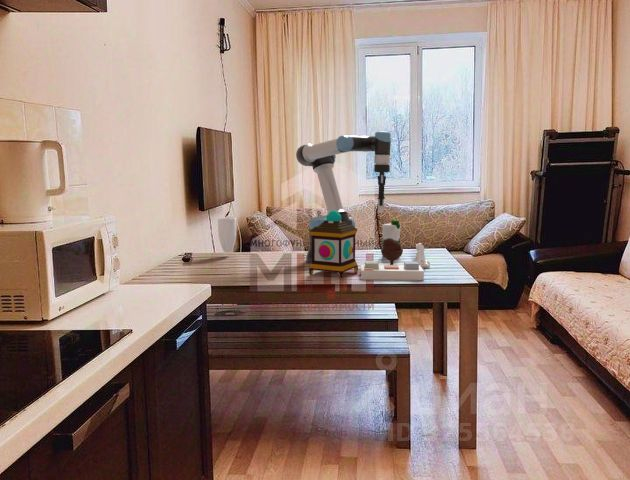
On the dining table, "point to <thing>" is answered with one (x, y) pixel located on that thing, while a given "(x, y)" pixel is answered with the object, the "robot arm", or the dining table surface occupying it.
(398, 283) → the dining table surface
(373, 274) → the console
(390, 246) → the ice cream bowl
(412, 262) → the slate key
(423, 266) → the sitting furry creature
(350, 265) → the decorative lantern
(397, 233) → the milk carton
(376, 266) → the sage key
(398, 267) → the terracotta key
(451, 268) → the dining table surface
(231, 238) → the cup
